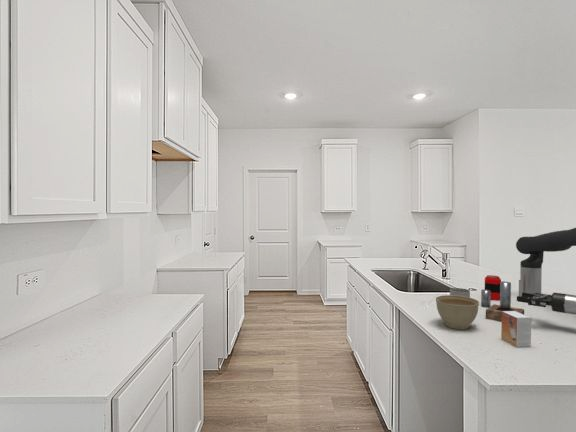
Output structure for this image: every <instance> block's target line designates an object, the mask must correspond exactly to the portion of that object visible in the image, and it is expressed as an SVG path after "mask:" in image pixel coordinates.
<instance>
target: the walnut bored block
mask: <svg viewBox="0 0 576 432" xmlns="http://www.w3.org/2000/svg"><path fill="white" fill-rule="evenodd" d="M511 311H517V312H519V313H521V314H523V315H525V309H524V308H520V307H519V308H518V307H512V306H511ZM485 320H490V321H496V322H501V323H502V311H500V304H495V303H493V304H491V306H490V307H489V308H486V309H485Z"/></svg>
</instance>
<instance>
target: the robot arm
mask: <svg viewBox="0 0 576 432" xmlns="http://www.w3.org/2000/svg"><path fill="white" fill-rule="evenodd" d="M515 247H516V250H517V251H518V253H520V254H523V255H529V257H527V258H524V259H523V260H521V261H520V265H519V267H520V272H519V275H520V278H519V280H518V295H517V296H516V301H517V302H520V303H524V304H525V303H526V304H527V305H528V306H534V307H539V308H547V306H548V307H549V306H550V307H551V311H552V312H555V313H561V314H562V313H563V314H568V315H575V316H576V294H575V295H574V294H569V293H561V292H552V294H546V293H542V270H543V269H542V266H543V262H544V252H548V253H549V252H551V253H552V252H563V251H568V250H570V249H571V248H572V247H576V227H573V228H570V229H565V230H564V229H563V230H557V231H551V232H547V233H542V234H539V235H535V236H522V237H519V238H518V239H517V240H516V242H515Z"/></svg>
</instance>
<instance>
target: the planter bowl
mask: <svg viewBox="0 0 576 432" xmlns="http://www.w3.org/2000/svg"><path fill="white" fill-rule="evenodd" d="M435 302H436V309H437V313H438V315H439V317H440V318H441V320H442V321H443V323H444V326H446V327H447V328H451V329H454V330H455V329H456V330H468V329H469V328H470V327H471V325H472V323H473V322H474V321H475V319H476V317H477V315H478V312H479V305H480V301H479V300H477V299H475V298H473V297H471V296H470V297H465V296H457V295H450V294H446V295H445V294H443V295H439V296H436V297H435Z"/></svg>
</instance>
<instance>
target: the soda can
mask: <svg viewBox="0 0 576 432" xmlns="http://www.w3.org/2000/svg"><path fill="white" fill-rule="evenodd" d="M500 282H502V279H501V277H500V276H498V275H494V274H493V275H492V274H490V275H486V276H485V277H484V289H486V290H490V291H491V301H500Z"/></svg>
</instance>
